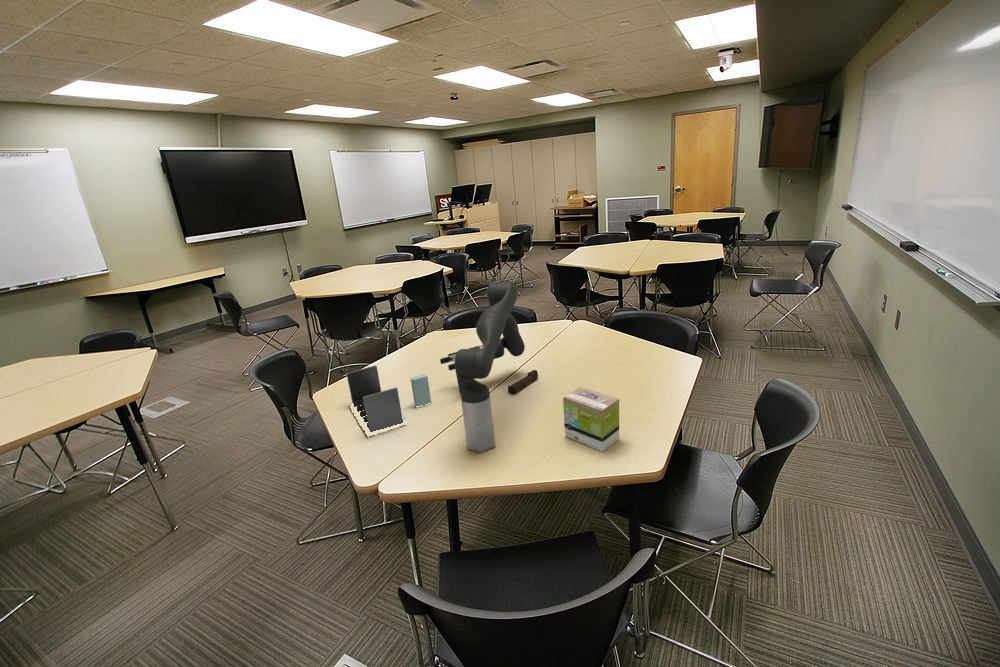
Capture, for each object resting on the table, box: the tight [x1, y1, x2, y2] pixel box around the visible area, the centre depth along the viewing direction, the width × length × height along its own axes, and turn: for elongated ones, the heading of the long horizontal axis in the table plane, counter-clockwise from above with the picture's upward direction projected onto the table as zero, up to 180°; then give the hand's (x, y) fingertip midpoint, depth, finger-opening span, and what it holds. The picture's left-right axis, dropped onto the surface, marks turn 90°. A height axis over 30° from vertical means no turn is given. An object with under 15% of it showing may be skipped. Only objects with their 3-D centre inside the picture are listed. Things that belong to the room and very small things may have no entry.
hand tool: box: [507, 369, 539, 395], centre depth 191 cm, size 19×4×5 cm, turn 138°
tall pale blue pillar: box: [410, 373, 432, 407], centre depth 182 cm, size 3×6×12 cm, turn 119°
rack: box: [345, 364, 403, 432], centre depth 175 cm, size 30×15×15 cm, turn 30°
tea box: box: [562, 386, 620, 452], centre depth 147 cm, size 15×10×15 cm, turn 45°
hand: (444, 364), depth 184 cm, fingers open, 8 cm apart
